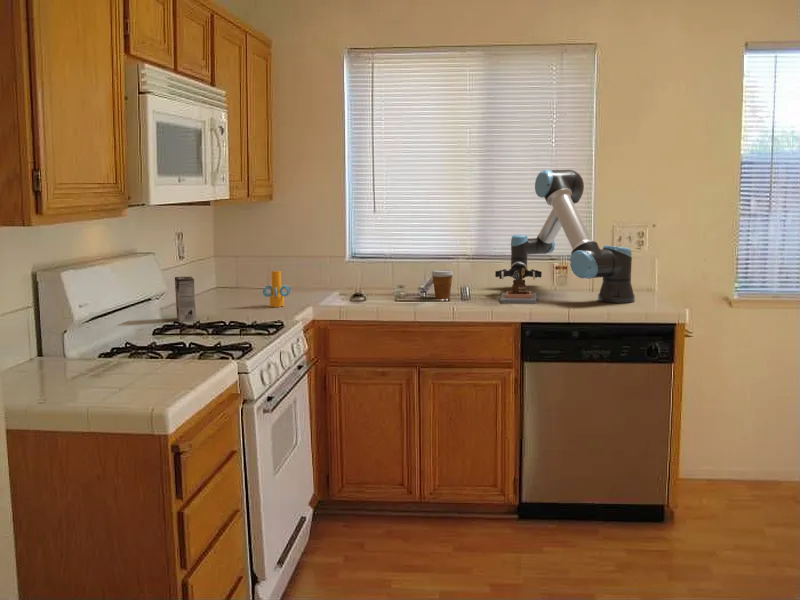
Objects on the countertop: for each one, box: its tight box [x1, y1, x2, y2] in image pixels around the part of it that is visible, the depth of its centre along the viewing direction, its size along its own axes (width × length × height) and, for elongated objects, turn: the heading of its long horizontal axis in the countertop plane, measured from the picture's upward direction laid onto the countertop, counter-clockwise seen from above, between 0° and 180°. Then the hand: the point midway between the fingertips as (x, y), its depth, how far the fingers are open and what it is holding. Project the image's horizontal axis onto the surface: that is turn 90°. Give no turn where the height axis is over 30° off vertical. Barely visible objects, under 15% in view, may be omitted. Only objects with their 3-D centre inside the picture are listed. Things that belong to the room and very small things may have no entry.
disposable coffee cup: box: [431, 269, 454, 300], centre depth 384 cm, size 10×10×12 cm
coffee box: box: [174, 276, 197, 322], centre depth 334 cm, size 9×6×16 cm
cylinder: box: [262, 269, 291, 308], centre depth 364 cm, size 12×10×15 cm
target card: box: [499, 290, 537, 305], centre depth 376 cm, size 15×22×3 cm
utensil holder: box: [511, 268, 527, 294], centre depth 376 cm, size 6×6×12 cm
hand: (518, 276), depth 379 cm, fingers open, 13 cm apart
